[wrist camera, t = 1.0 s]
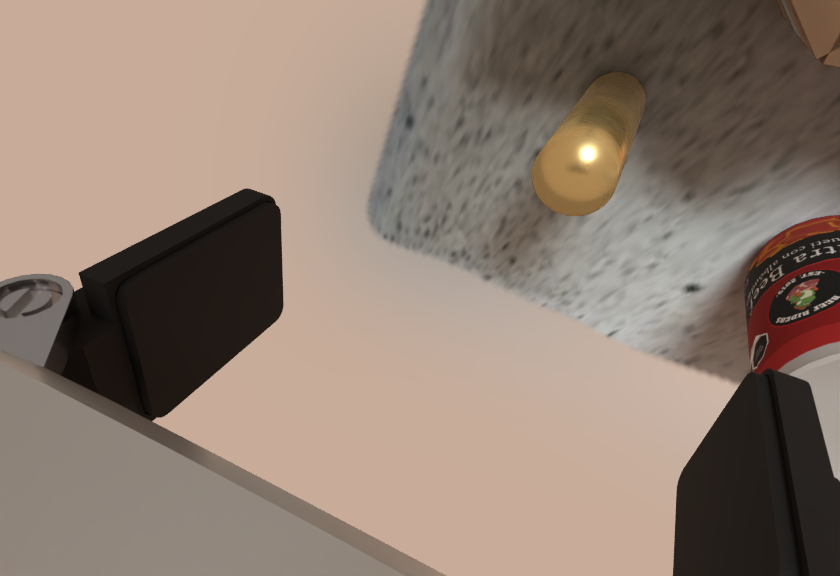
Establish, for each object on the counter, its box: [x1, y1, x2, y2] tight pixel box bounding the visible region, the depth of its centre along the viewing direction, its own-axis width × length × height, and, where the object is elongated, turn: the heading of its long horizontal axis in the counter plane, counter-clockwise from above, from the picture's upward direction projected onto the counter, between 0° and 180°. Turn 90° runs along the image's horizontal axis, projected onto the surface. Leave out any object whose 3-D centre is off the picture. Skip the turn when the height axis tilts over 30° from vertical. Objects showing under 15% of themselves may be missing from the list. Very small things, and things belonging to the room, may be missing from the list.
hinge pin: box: [532, 72, 646, 216], centre depth 23 cm, size 3×3×10 cm
